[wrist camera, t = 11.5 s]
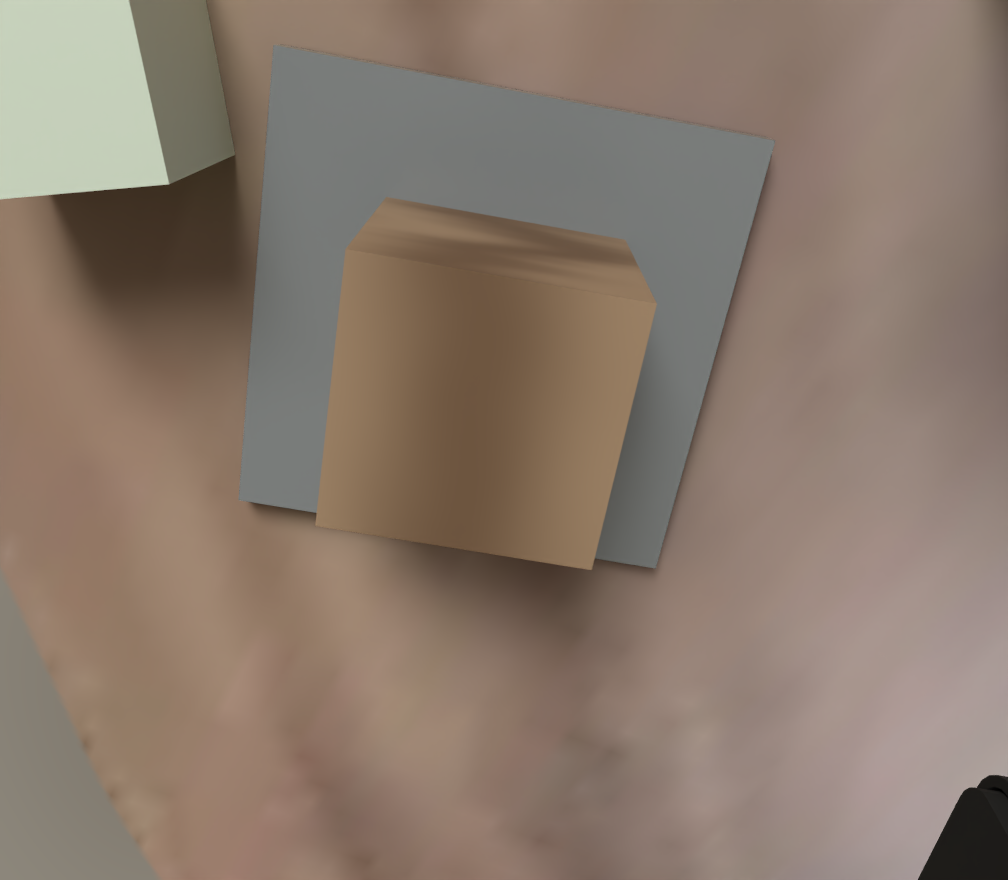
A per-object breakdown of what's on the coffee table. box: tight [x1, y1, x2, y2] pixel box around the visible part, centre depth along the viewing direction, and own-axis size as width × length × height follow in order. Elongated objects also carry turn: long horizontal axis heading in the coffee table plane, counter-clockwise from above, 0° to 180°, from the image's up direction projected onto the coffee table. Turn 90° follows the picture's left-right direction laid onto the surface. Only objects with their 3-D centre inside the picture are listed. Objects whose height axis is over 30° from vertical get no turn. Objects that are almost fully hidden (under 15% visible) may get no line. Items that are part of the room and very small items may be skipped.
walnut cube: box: [315, 197, 657, 570], centre depth 22 cm, size 6×6×6 cm
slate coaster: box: [239, 44, 775, 568], centre depth 25 cm, size 12×12×1 cm
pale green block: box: [0, 0, 235, 199], centre depth 21 cm, size 5×5×5 cm
